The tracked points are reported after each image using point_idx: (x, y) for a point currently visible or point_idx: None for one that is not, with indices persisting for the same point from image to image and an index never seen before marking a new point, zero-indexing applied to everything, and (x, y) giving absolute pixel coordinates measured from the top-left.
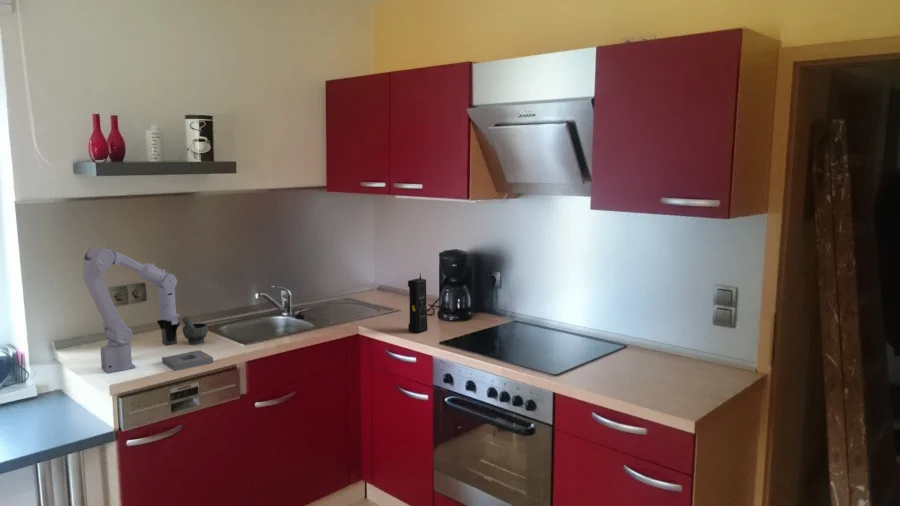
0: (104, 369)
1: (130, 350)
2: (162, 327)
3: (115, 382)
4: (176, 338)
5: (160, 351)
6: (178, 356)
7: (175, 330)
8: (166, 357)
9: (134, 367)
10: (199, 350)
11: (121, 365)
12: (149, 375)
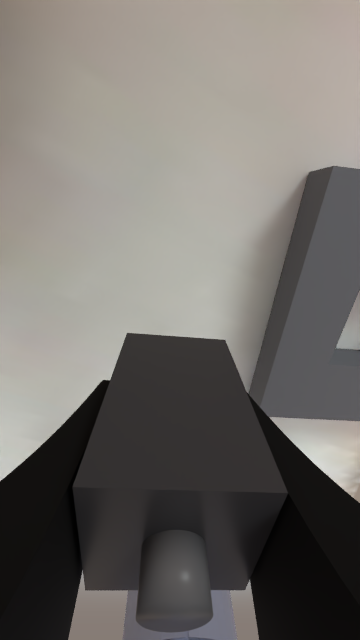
0: None
1: None
2: (75, 589)
3: None
4: (237, 373)
5: (19, 323)
6: (322, 354)
7: (332, 498)
8: (277, 402)
9: None
10: (337, 175)
11: None
12: (353, 472)
